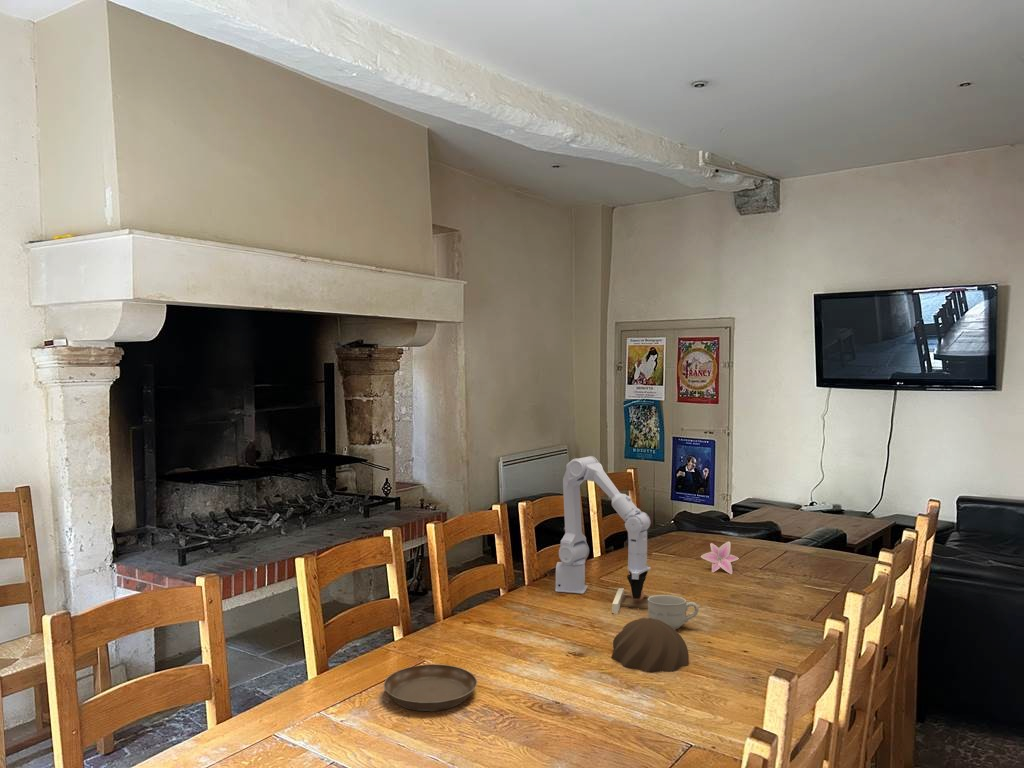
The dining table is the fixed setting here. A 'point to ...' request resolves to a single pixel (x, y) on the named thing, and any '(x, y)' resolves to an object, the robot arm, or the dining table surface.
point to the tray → (634, 602)
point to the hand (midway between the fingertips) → (637, 596)
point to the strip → (617, 600)
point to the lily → (720, 557)
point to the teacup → (670, 609)
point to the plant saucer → (430, 687)
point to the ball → (640, 597)
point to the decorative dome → (650, 646)
